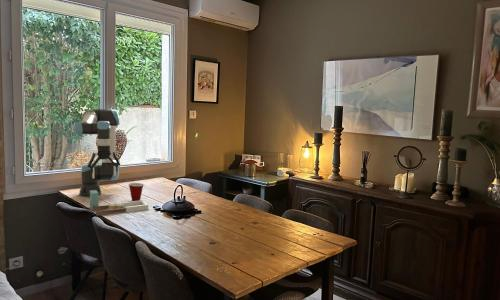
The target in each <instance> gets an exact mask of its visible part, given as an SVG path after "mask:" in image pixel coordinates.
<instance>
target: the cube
mask: <svg viewBox="0 0 500 300" xmlns="http://www.w3.org/2000/svg"><path fill="white" fill-rule="evenodd" d="M115 204H116V206H117V208H116V209H119V208H125V207H124V205H123V204H120V203H115Z"/></svg>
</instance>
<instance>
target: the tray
mask: <svg viewBox="0 0 500 300" xmlns="http://www.w3.org/2000/svg"><path fill="white" fill-rule="evenodd" d="M121 204H123V205H124V208H126V212H125V213H129V212H130V213H131V212H137V211H145V210H149V204H148V203H147V202H145V200H141V199H140V200H139V201H132V200H131V201H123V202H121Z"/></svg>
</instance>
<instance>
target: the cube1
mask: <svg viewBox="0 0 500 300" xmlns="http://www.w3.org/2000/svg"><path fill="white" fill-rule="evenodd" d="M116 204H117V203H111V204H107V205H108V209H107V210H110V209H117V208H116Z"/></svg>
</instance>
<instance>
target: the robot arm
mask: <svg viewBox="0 0 500 300" xmlns="http://www.w3.org/2000/svg"><path fill="white" fill-rule="evenodd" d="M120 124H121V123H120V116H119V112H118V110H117V109H112V108H109V109H107V108H105V109H103V108H101V109H100V108H94V109H92V110H89V111H87V112H85V113H84V115H83V116H82V121H81V122H76V123H74V134H76V135H97V152H92V153H91V157H90V160H89V162H88V163H86V164H83V165H82V166H81V171H80V172H81V186H80V189H79V196H80V197H87V198H88V197H89V198H90V191H92V190H96V191H97V192H98V196H100V195H102V189H101V187H100V184H99V181H117V180H118V178H119V177H120V176H119V175H120V166H121V163H120V161H119V160H118V157H117V154H116V153H117V152H116V150H117V149H116V146H117V145H116V141H117V139H116V137H117V136H116V135H117V134H116V133H117V132H116V130H117V128H118V126H119V125H120ZM96 157H97V158H96ZM95 158H96V159H95ZM100 160H102V161H101V164H99V163H98V162H100Z"/></svg>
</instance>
